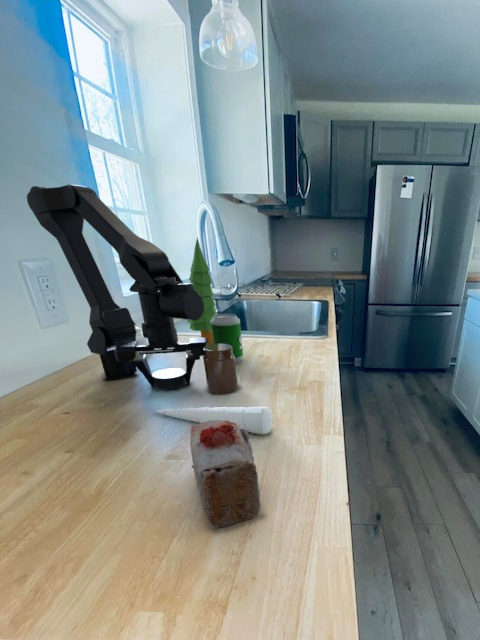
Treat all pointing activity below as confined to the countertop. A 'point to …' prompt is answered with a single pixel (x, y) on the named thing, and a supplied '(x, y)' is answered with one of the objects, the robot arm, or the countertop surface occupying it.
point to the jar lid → (169, 378)
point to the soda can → (228, 333)
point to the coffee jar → (220, 369)
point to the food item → (225, 472)
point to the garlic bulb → (140, 337)
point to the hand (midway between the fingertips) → (171, 385)
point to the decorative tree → (202, 294)
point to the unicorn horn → (228, 416)
